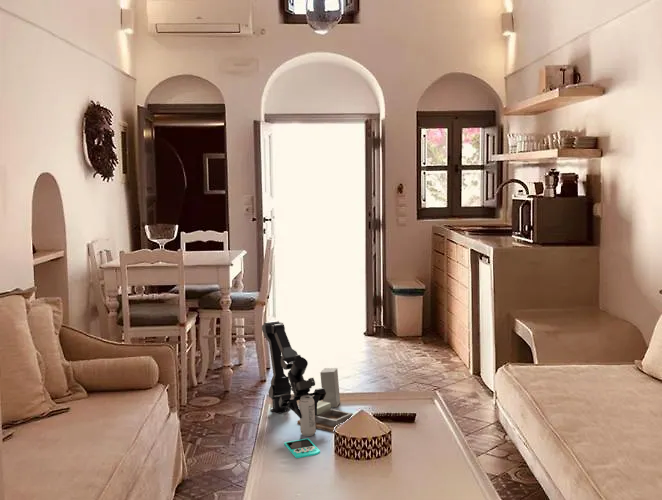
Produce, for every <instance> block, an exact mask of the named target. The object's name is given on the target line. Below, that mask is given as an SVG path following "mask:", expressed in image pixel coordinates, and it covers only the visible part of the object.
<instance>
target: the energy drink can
mask: <svg viewBox="0 0 662 500" xmlns="http://www.w3.org/2000/svg"><path fill="white" fill-rule="evenodd" d="M300 398H301V399H300V400H298V404H299V405H298V407H299V410H300V413H301V416H302V418H299V420H300V424H299V425H300V427H299V428H300V434H301V435H302V436H303V437H313V436H314V435H315V433H316V432H317V431H316V429H317V428H316V424H315V405H314V399H313V397H312V396H310V395H305V396H301V397H300Z"/></svg>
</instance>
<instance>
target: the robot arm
mask: <svg viewBox="0 0 662 500" xmlns="http://www.w3.org/2000/svg"><path fill="white" fill-rule="evenodd" d="M261 331H262V333H263V336H264V338H265V339H266V340H267V342H268V345H269V346H268V347H269V353H270V360H271V366H272V367H271V368H272V374H273V375H272V377H271V380H270V386H269V389H268V397H269V399H271V400H272V409H270V410H269V411H270V412H274V413H279V414H282V413H283V414H284V413H285V412H288V411H289V410H290V411H292V412H294V414H295V415H296V416H298V418H299V419H300V418H302V416H301V413H300V410H299V405H298V402H299V401H300V399H301V398H300V397H301V396H305V395H310V396H312V397H313V399H314V405H315V416H316V415H317V403H318V401H323V399H324V397H325V395H326V391H325V389H324V388H322V387H320V388H315V389H314V391H313V392H311V389H312V387H314V386H316V381H315V378H314V377H309V378H308V380H306V379H305V378H304V374H305V372H306V370H307V367H308V364H309V363H308V360H307V359H306V358H305V357H302V356H301V354H298V352H297V350H295V349H293V348H292V345H291V342H290V340H289V338H288V335H287V333H286V327H285V324H284V322H280V321H279V320H269V321H265V322H264V323H263V324H262V326H261ZM284 370H286V371H287V370H288V372H287V375H286V374H285V371H284ZM292 392H293V395H291V394H292ZM309 392H310V393H309Z"/></svg>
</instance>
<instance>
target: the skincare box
mask: <svg viewBox="0 0 662 500" xmlns="http://www.w3.org/2000/svg"><path fill="white" fill-rule="evenodd" d="M338 372H339V371H338V367H331V368H330V367H325V368H323V369H322V370H321V371H320V372H319V373H320V384H321V388H324V389H325V391H326V395H325V397H324V399H323V400H322V401H324V402H328V403H331V408H338V406H339V404H340V403H341V396H340V385H339V373H338Z"/></svg>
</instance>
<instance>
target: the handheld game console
mask: <svg viewBox="0 0 662 500" xmlns="http://www.w3.org/2000/svg"><path fill="white" fill-rule="evenodd" d="M283 444H284V445H285V447H286V448H287V449H288V450H289V452H290V453H291V454H292V456H294V458H296V459H300V458H306V457H312V456H316V455H318V454H320V453H321V450H320V449H319V447H317V446H316V445H315V443H313V441H312V440H311V439H310V438H309V437H307V438H302V439H295V440H290V441H284V442H283Z"/></svg>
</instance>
